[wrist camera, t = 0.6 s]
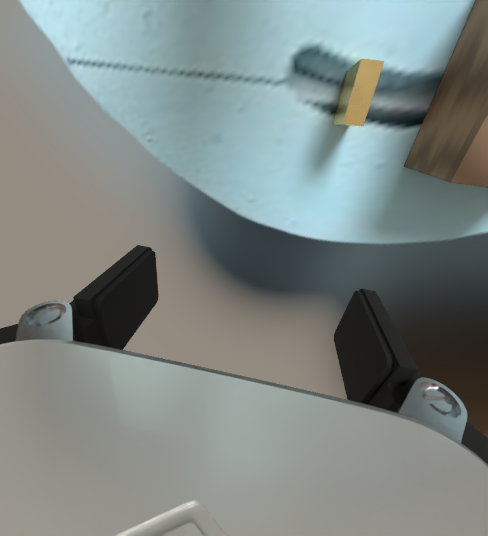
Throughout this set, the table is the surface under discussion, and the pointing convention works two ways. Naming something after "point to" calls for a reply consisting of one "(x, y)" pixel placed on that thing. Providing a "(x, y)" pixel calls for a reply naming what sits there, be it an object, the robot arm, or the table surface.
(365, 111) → the golden flat plank
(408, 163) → the coin box
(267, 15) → the table surface
